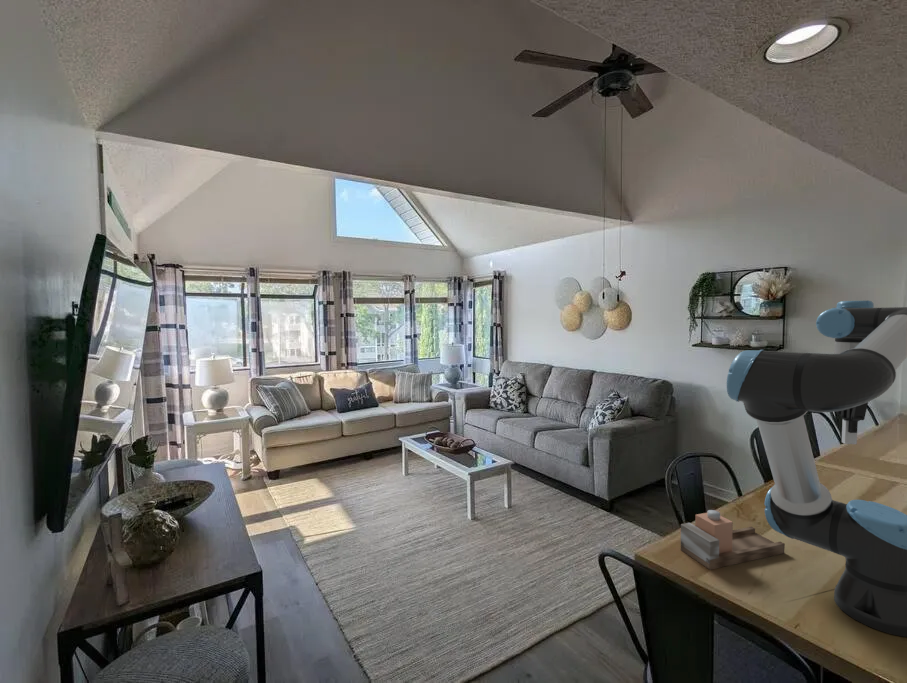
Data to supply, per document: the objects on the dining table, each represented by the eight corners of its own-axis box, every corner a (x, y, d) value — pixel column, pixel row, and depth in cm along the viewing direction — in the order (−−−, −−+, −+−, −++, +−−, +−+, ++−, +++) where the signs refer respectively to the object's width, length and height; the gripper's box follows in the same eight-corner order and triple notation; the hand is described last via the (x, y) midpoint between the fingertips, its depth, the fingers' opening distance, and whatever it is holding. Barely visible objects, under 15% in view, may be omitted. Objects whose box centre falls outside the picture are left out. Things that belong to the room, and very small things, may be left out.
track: (751, 535, 131) (751, 511, 130) (784, 553, 121) (785, 526, 120) (680, 549, 124) (680, 524, 124) (709, 569, 114) (709, 542, 114)
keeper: (712, 542, 125) (712, 505, 124) (732, 554, 118) (732, 516, 118) (695, 545, 123) (695, 509, 122) (714, 557, 117) (714, 519, 116)
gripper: (886, 360, 111) (882, 451, 113) (854, 355, 124) (850, 437, 125) (851, 360, 113) (847, 449, 115) (822, 355, 126) (819, 436, 127)
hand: (849, 443), depth 120 cm, fingers closed
